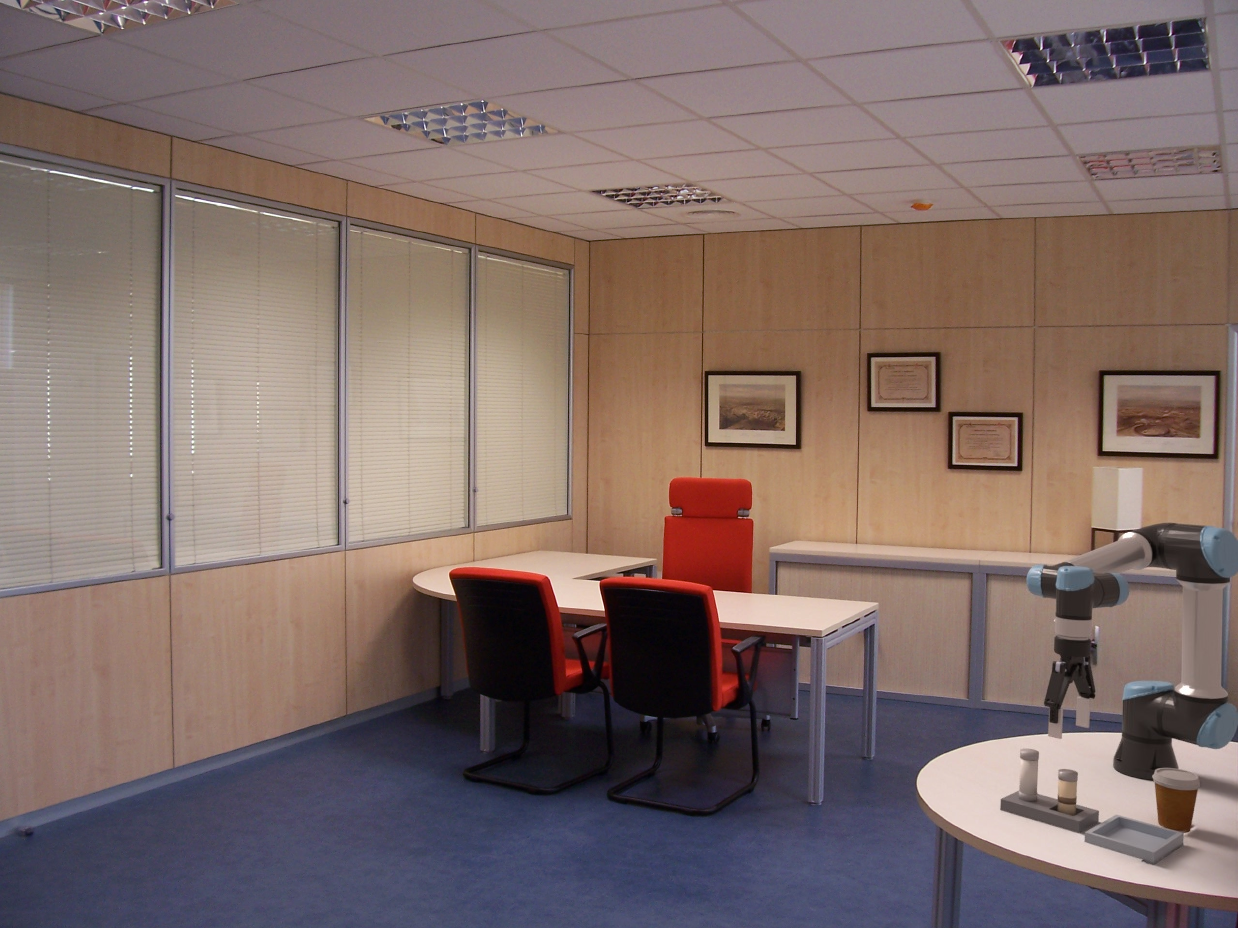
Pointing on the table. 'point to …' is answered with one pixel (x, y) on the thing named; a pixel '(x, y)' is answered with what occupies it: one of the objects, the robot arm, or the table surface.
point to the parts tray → (1135, 838)
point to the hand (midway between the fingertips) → (1068, 731)
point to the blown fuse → (1067, 791)
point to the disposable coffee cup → (1175, 797)
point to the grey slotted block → (1043, 800)
